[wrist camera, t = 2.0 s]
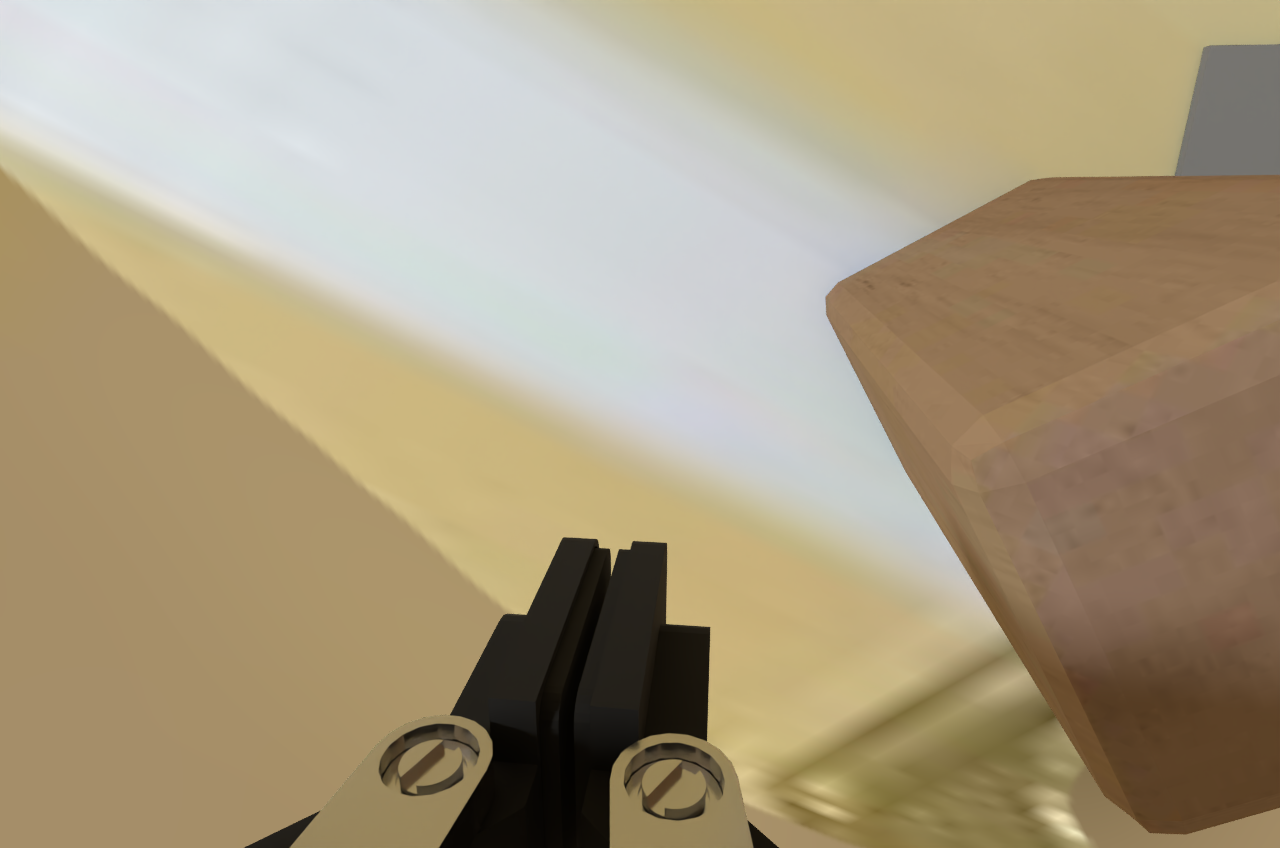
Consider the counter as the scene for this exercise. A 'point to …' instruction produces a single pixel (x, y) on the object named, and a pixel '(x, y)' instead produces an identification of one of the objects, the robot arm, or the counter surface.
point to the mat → (1234, 113)
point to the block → (1106, 461)
